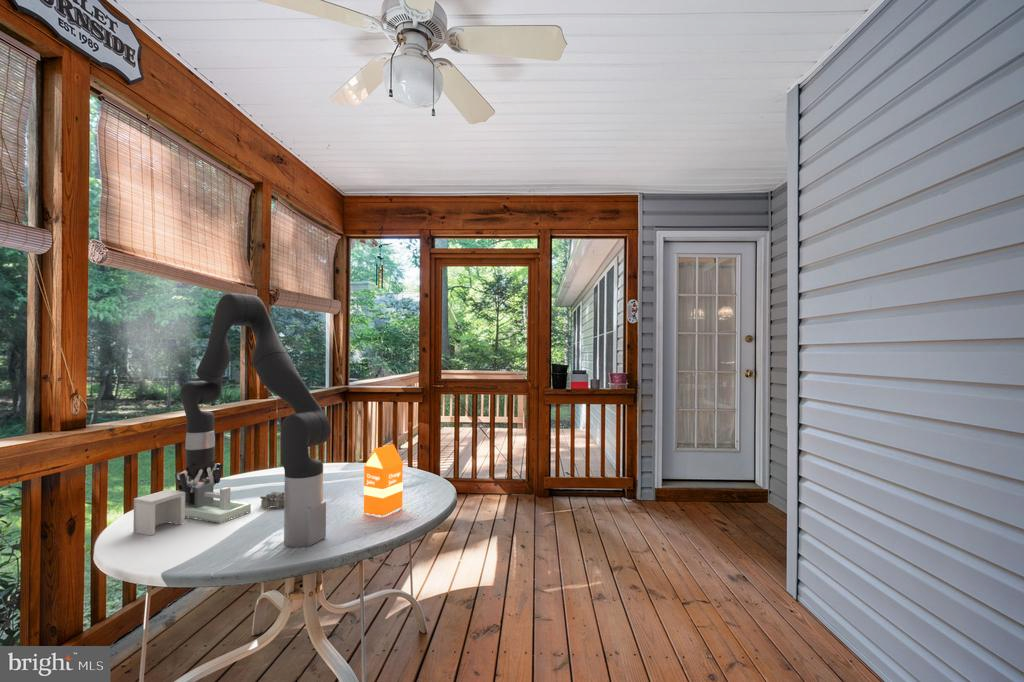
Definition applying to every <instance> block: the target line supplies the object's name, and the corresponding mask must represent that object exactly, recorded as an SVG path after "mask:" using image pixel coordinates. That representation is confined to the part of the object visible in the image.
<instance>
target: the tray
mask: <svg viewBox="0 0 1024 682" xmlns="http://www.w3.org/2000/svg"><path fill="white" fill-rule="evenodd" d="M251 506H252V505H251V503H247V502H241V501H235V500H230V508H228V509H225V510H221V509H220V498H214V497H213V503H212V504H209V505H206V506H203V507H200V508H193V507H187V506H185V517H189V518H188V519H191V518H197V519H201V520H200V521H202V520H207V521H206V522H208V521H212V522H211V523H214V522H217V523H216V524H220V523H221V524H223V523H225V522H224V521H226V522H228V521H230V520H229V519H231V518H234V517H236V518H238V517H237V516H239V517H241V516H240V515H242V514H244V515H246V514H245V513H247V512H250V511H252V508H251ZM250 513H251V512H250ZM247 514H248V513H247ZM242 516H243V515H242ZM197 519H196V520H197ZM234 519H235V518H234ZM227 520H228V521H227ZM231 520H232V519H231ZM222 522H223V523H222Z"/></svg>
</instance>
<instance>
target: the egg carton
mask: <svg viewBox="0 0 1024 682" xmlns="http://www.w3.org/2000/svg"><path fill="white" fill-rule="evenodd" d="M260 499H261V501H260V502H261V503H260V508H261V507H264V508H263V509H269V508H268V507H270V506H275V507H279V508H281V507H280V506H283V507H284V491H281V492H278V491H272V492H269V493H267V494H265V496H263V495H261V496H260ZM275 507H274V508H275ZM270 508H271V507H270Z"/></svg>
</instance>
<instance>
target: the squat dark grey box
mask: <svg viewBox="0 0 1024 682" xmlns="http://www.w3.org/2000/svg"><path fill="white" fill-rule="evenodd" d="M213 485H214V484H213V483H204V481H203V482H202V481H199V482H198V484H197V485H196V487H195V490H194V505H188V504H187V503H186V493H185V506H187V507H193V508H200V507H203V506H206V505H209V504H212V503H213V498H215V499H220V509H221V510H225V509H228V508H230V501H231V487H229V486H228V487H227V486H225V487H222V488H219V493H217V492H214V486H215V485H214V486H213ZM190 488H191V487H190Z"/></svg>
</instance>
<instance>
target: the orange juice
mask: <svg viewBox="0 0 1024 682" xmlns="http://www.w3.org/2000/svg"><path fill="white" fill-rule="evenodd" d="M403 465H404V462H403V461H402V459H401V457H400V454H399V452H398V451H397V449H396V446H395V444H394V443H392V444H388V445H384V446H380V447H377V448H373V450H372V452H371V454H370V455H369V458H368V459H367V461H366V463H365V464H364V466H363V468H364V469H363V514H364V513H369V514H375V515H381V516H383V515H386V514H388V513H390V512H392V511H394V510H396V509H398V508H401V507H402V508H403V496H404V495H403V494H404V493H403V491H404V489H403V487H404V483H403V479H404V478H403V475H404V473H403V469H404V468H403V467H404V466H403Z"/></svg>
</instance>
